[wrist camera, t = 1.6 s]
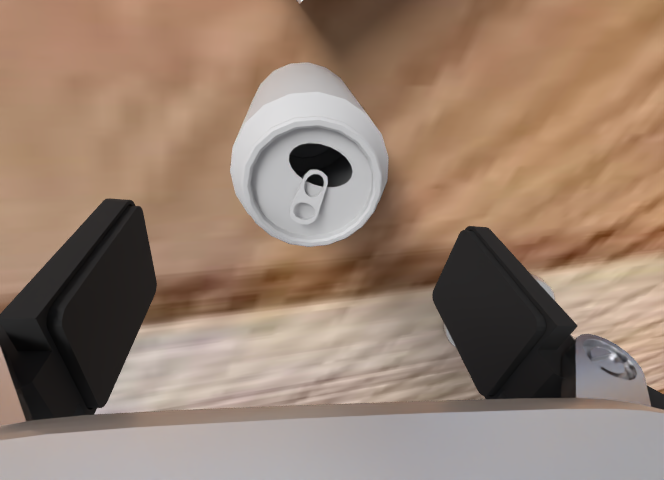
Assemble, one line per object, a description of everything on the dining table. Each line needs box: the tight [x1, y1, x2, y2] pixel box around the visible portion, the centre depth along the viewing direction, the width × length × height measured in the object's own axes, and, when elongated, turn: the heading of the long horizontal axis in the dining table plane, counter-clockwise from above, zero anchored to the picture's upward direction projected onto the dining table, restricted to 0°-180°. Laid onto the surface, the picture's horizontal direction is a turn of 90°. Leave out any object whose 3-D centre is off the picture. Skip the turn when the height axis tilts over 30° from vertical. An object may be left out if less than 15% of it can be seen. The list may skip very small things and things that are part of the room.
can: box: [230, 62, 388, 247], centre depth 19 cm, size 8×8×12 cm
